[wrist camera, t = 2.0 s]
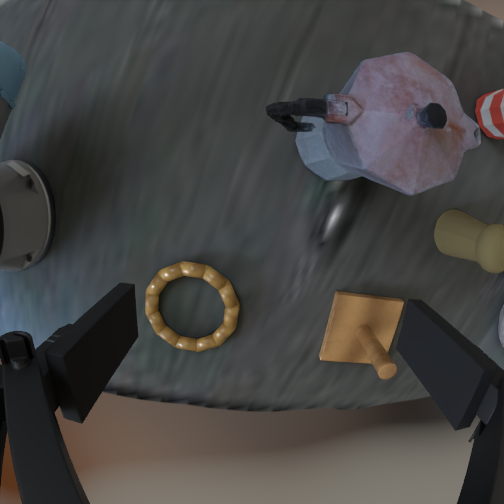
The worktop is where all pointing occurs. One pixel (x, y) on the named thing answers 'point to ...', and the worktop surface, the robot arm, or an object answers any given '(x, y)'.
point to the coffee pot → (501, 326)
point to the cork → (470, 240)
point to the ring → (213, 279)
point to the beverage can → (491, 114)
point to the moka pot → (384, 126)
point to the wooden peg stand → (362, 331)
